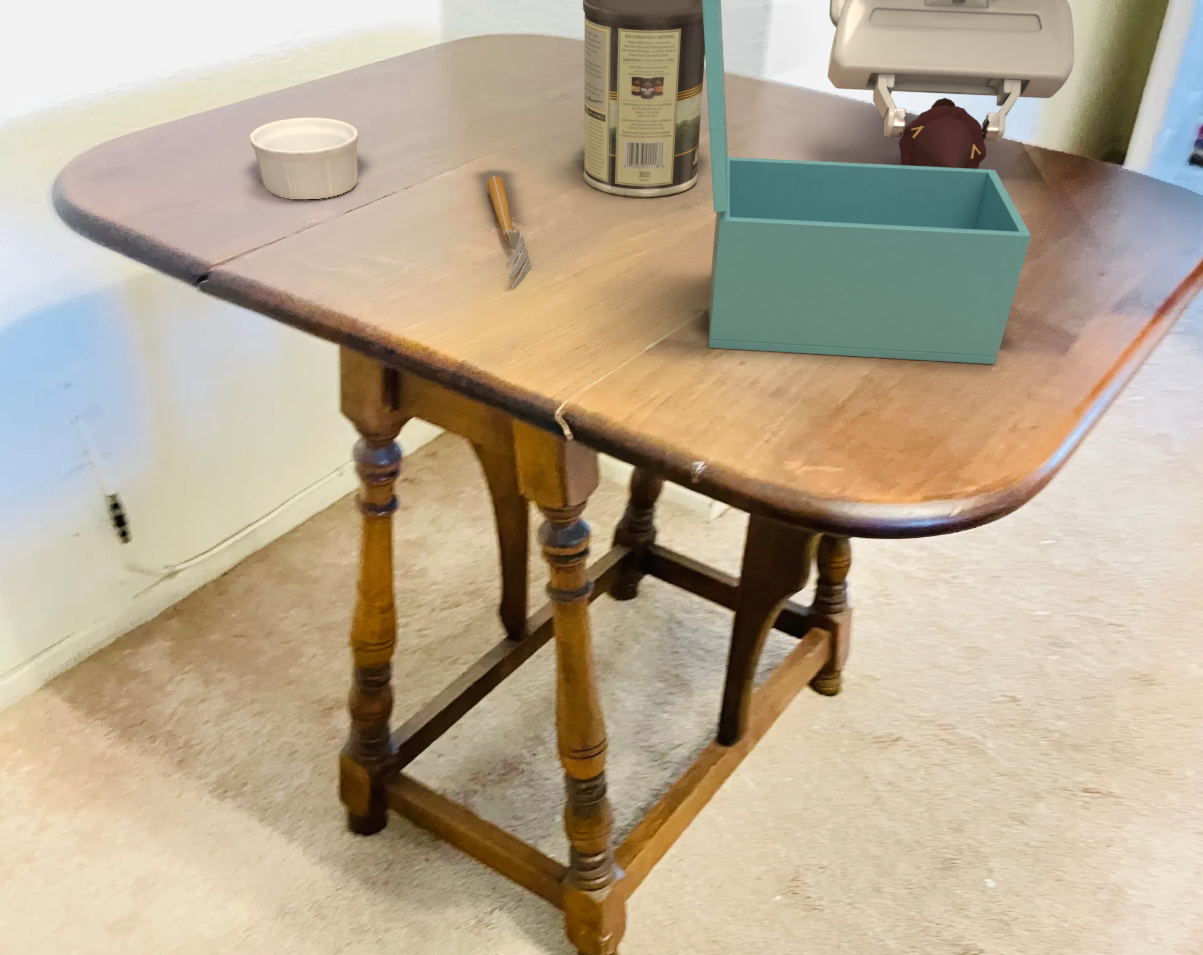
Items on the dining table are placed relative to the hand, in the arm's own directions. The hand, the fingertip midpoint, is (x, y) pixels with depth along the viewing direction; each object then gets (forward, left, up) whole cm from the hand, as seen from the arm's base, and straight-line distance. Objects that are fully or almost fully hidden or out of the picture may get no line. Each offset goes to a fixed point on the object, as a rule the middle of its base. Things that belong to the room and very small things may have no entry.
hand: (943, 136), depth 92 cm
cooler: (+10, +27, -4) cm, 29 cm away
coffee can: (+26, +1, -5) cm, 26 cm away
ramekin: (+54, +7, -5) cm, 55 cm away
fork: (+35, +16, -5) cm, 39 cm away
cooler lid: (+20, +27, +14) cm, 37 cm away
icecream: (0, -1, -5) cm, 5 cm away
